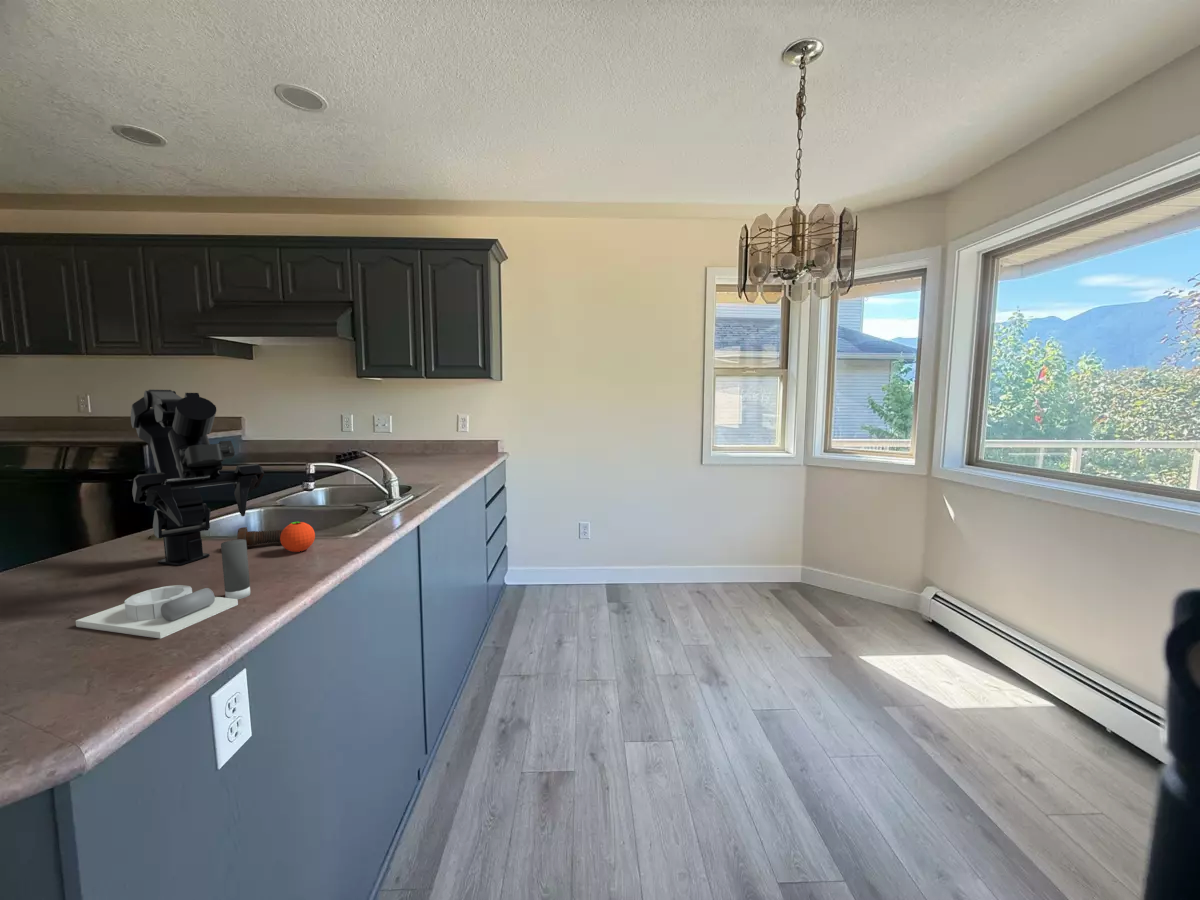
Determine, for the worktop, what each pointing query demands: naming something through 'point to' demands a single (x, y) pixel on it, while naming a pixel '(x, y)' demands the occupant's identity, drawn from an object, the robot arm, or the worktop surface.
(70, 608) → the worktop surface
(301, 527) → the clementine
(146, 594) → the white socket base plate
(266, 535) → the bolt
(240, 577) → the crank handle
